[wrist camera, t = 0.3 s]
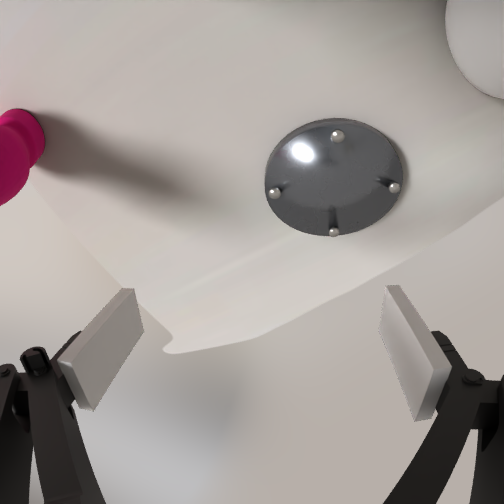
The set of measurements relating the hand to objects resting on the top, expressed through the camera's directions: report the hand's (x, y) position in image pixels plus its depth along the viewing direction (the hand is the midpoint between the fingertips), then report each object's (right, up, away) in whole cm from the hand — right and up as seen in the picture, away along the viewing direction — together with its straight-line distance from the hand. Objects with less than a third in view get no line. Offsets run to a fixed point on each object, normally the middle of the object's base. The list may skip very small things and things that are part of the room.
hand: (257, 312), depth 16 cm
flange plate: (+7, +9, +11) cm, 16 cm away
